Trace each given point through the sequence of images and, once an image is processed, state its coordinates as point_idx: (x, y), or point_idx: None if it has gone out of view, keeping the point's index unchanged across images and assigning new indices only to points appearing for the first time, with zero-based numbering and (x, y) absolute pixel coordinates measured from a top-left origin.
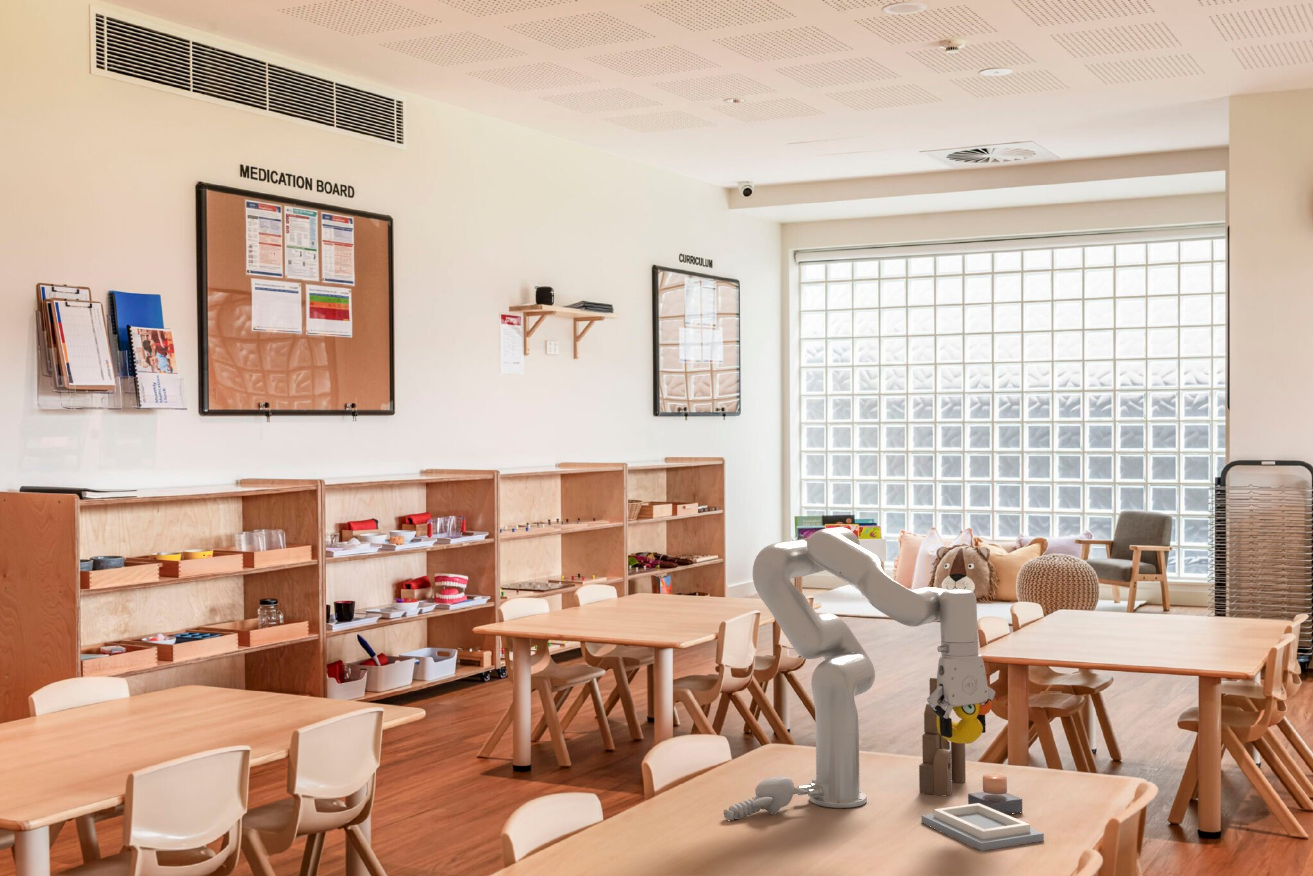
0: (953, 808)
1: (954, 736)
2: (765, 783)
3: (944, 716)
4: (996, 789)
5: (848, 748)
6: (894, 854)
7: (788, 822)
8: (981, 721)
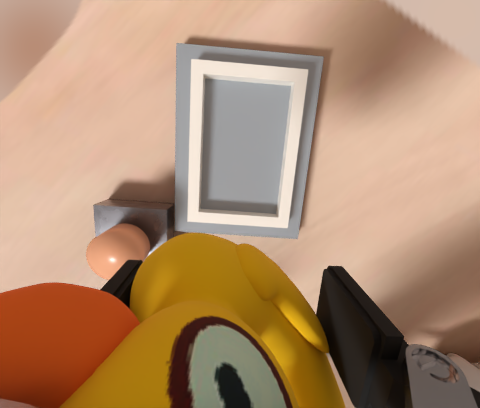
0: (252, 216)
1: (292, 282)
2: None
3: (451, 361)
4: (133, 230)
5: None
6: (449, 124)
7: (455, 320)
8: (121, 299)
